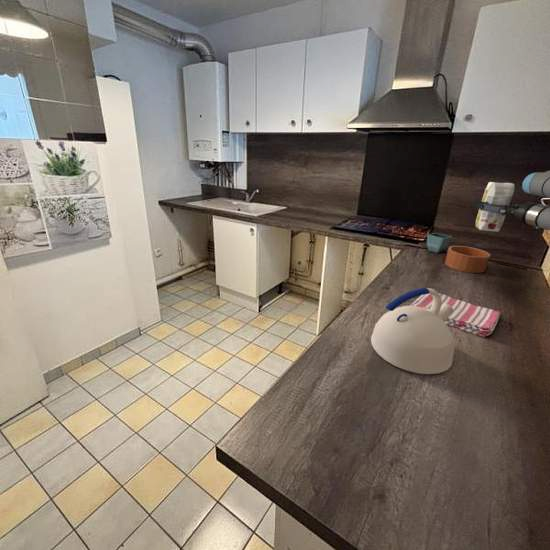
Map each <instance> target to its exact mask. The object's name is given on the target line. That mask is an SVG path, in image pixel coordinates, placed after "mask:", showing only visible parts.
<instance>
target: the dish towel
mask: <svg viewBox="0 0 550 550" xmlns="http://www.w3.org/2000/svg"><path fill="white" fill-rule="evenodd" d="M438 293H439V292H438ZM439 295H440V297H441V299H442V305H443V303H447V304H449V305H450V306H451V307H452V308H453V310H454V313H451V314H450V315H449V316H448V317H447V318H446V319H445V320H444V322H445V323H446V325H447V326H448V325H449V326H450V327H454V328H457V329H460V330H462V331H464V332H467V333H470V334H472V335H475V336H480V337H482V338H485V337H488V336H490V335H491V334H493V331H494V330H495V328H496V326H497V324H498V321H499V319H500V315H501V313H502V311H499V310H494V309H491V308H487V307H483V306H479V305H475V304H472V303H470V302H467V301H463V300H460V299H457V298H454V297H451V296H449V295H446V294H443V293H439ZM432 303H433V296H432V294H424V295H420V296H418V298H416V299H415V300H414V301H413V302H412V303H411V304H410V305H409V306H417V307H422V308H425V309H430V308H431V306H432Z"/></svg>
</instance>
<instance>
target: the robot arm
mask: <svg viewBox="0 0 550 550" xmlns="http://www.w3.org/2000/svg"><path fill="white" fill-rule="evenodd" d="M521 187H522V190H523V192H524V193H526V194H529V195H532V196H536V197H543V198H548V199H550V170H546V171H545V172H543V171H542V172H541V171H538V172H532V173H530V174H528V175H527V176H525V178H524V179H523V181H522V184H521ZM473 208H476V209H480V210H482V211H488V212H493V213H498V214H502V215H506V216H509V217H513V218H514V217H515V220H516V221H517V222H518V223H520V224H523V225H527V226H531V227H535V229H536V230H539V229H542V230H546V231H550V205H547V204H541V203H535V202H525V203H522V204H521V203H518V204H517V203H512V202H510V204H509V205H505V206H501V205H494V204H489V203H488V202H482V200H477V199H475V200H474V203H473ZM507 208H508V210H507Z"/></svg>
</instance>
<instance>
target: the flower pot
mask: <svg viewBox="0 0 550 550" xmlns="http://www.w3.org/2000/svg"><path fill="white" fill-rule="evenodd" d="M451 240H452V236H451V235H448V234H443V233H440V232H433V233H428V234H427V237H426V247H427V249H428V251H429V252H433V253H437V254H439V253H442V252H443V251H445V250H446V248H447V247H448V246H449V244H450V242H451Z"/></svg>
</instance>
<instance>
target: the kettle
mask: <svg viewBox="0 0 550 550" xmlns="http://www.w3.org/2000/svg"><path fill="white" fill-rule="evenodd" d="M424 294H432V296H433V303H432V306H431V308H430V309H425V308H422V307H417V306H410V305H403V306H401V305H402V304H404V303H405V302H407V301H410V300H411V299H414V298H417V297H420V296H421V295H424ZM385 308H386V309H387V310H388V311H387V312H385V313H384V314H382V316H381V317H380V318H379V319H378V321H376V323H375V326H374V328H373V331H372V334H371V338H370V343H371V347H372V348H373V349H374V351H375V352H376V354H378V355H379V357H381V358H382V359H383V360H384V361H386V362H387V363H389V364H391V365H392V366H394V367H397V368H399V369H401V370H404V371H406V372H410V373H413V374H420V375H434V374H435V375H436V374H440V373H444V372H446V371H448V370H449V369H450V368H451V367H452V364H453V361H454V359H453V358H454V354H455V349H456V346H455V341H454V336H453V333H452V330H451V329H450V328H449V326H448V324H446V323H445V322H444V320H445V319H446V318H447V317H448V316H449V315H450V314H451V313H454V310H453V308H452V307H451V306H450V305H449V304H447V303H443V305H442V299H441V297H440V295H439V292H437V290H435V289H434V288H431V287H430V288H429V287H421V288H416V289H413V290H411V291H408V292H406V293H403V294H401V295H399V296H398V297H396V298H394V299H393V300H391V301H390V302H388V304H387V305H386V306H385Z"/></svg>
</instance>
